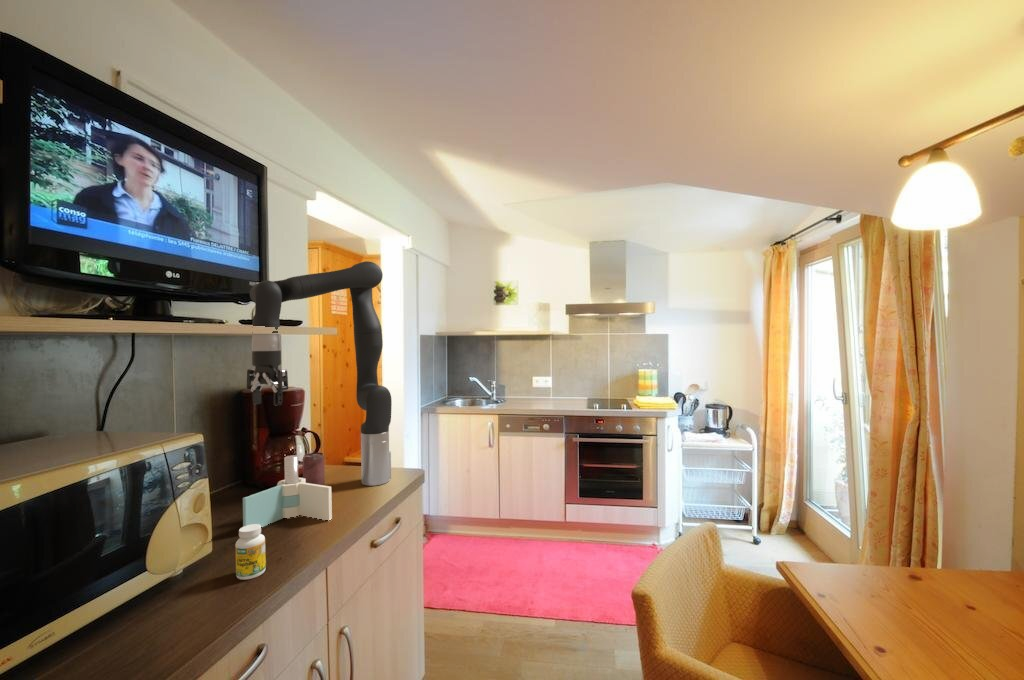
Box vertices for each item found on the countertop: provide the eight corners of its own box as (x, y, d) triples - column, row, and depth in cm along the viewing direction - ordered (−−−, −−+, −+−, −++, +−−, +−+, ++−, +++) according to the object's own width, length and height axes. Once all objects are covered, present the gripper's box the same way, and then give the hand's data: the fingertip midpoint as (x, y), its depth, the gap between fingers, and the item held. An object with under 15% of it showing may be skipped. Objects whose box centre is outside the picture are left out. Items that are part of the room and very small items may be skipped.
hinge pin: (293, 510, 127) (291, 454, 127) (301, 512, 126) (300, 455, 126) (282, 514, 124) (281, 457, 124) (291, 516, 122) (290, 458, 122)
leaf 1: (293, 507, 129) (293, 476, 129) (311, 510, 127) (310, 479, 127) (235, 531, 113) (234, 496, 113) (254, 536, 110) (253, 500, 110)
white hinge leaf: (293, 507, 129) (293, 476, 129) (340, 515, 122) (339, 483, 122) (272, 516, 123) (271, 483, 123) (320, 525, 116) (319, 491, 116)
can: (297, 502, 133) (297, 455, 134) (316, 495, 139) (315, 451, 139) (311, 505, 131) (310, 458, 131) (329, 498, 136) (328, 453, 136)
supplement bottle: (269, 565, 95) (268, 521, 96) (261, 578, 90) (260, 531, 90) (241, 569, 94) (240, 523, 94) (231, 582, 89) (230, 534, 89)
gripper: (295, 349, 130) (295, 404, 130) (261, 349, 136) (261, 402, 136) (272, 349, 124) (273, 407, 124) (237, 350, 129) (238, 405, 129)
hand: (267, 404), depth 130 cm, fingers open, 8 cm apart
